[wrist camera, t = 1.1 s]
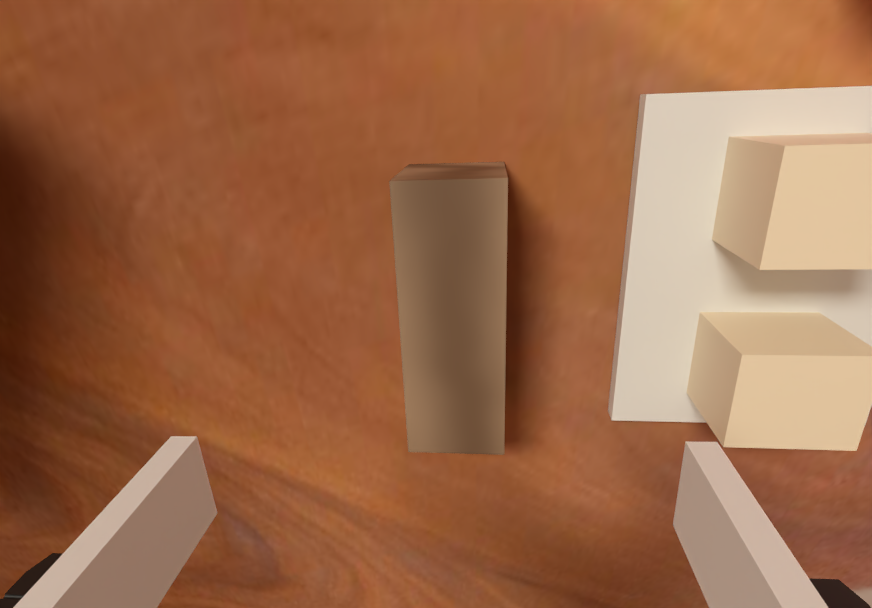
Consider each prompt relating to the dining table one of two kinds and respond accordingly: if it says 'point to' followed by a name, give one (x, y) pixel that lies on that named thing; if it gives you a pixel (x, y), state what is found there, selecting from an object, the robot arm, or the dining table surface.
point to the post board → (750, 267)
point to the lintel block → (452, 303)
